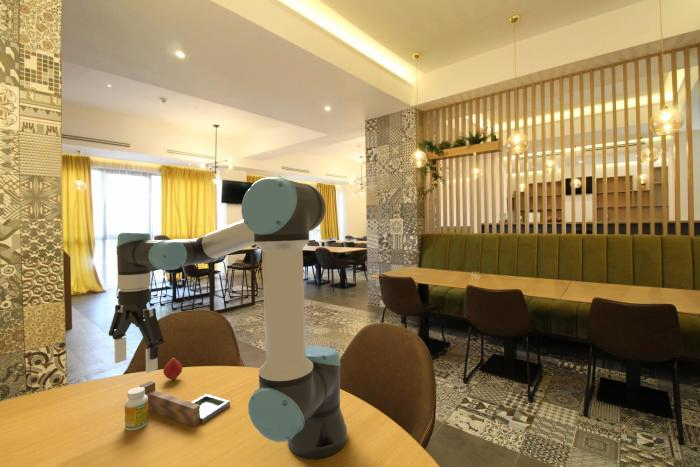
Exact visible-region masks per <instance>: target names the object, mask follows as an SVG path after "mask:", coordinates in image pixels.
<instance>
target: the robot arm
mask: <svg viewBox="0 0 700 467" xmlns="http://www.w3.org/2000/svg"><path fill="white" fill-rule="evenodd" d="M326 207H327V206H326V201H325V199H324V196H323V195H322V194H321V192H320V191H319V190H318V189H317V188H315V187H314V186H312V185H310V184H307V183H301V182H298V181H293V180H290V179H287V178H285V177H273V176H271V177H270V176H269V177H268V176H267V177H263V178H260V179H258V180H257V181H255V182H254V183H252V184H251V186H250V188H249V189H247V190H246V191H245V194H244V196H243V199H242V202H241V217H242V220H240V221H236V222H234V223H232V224H229V225H226V226H225V227H222V228H220V229H219V228H218V229H217V230H214V231H212V232H209V233H207V234H205V235H201V236H199V237H196V238H184V239H160V240H159V239H151V234H150V233H149V232H147V231H146V232H145V231H142V232H141V231H140V232H137V231H135V232H131V231H130V232H128V231H127V232H126V231H125V232H120V233H119V234H118V235H117V242H116V243H117V244H116V256H117V258H116V260H117V261H116V262H117V263H116V264H117V265H116V266H117V289H118V290H119V291H118V292H117V304H115V306H114V314H113V317H112V321H111V324H110V328H109V331H108V336H109V337H112V339H113V340H114V364H118V363H122V362H124V361H127V334H126V332H128V330H129V327H130V326H131V324H132V325H135V327H136V328H138V329H139V331H140V333H141V335H142V337H143V339H144V341H145V343H146V345H147V346H146V347H145V373H147V374H149V373H150V372H154V371H156V370H158V369H159V368H158V367H159V366H158V362H159V361H158V360H159V346H161V345H163V344H165V339H164V337H163V333H162V330H161V328H160V323H159V321H158V318H157V317H158V316H157V312H156V311H157V310H156V308H155V307H151V308H148V303H150V302H151V301H152V289H151V288H150V287H151V283H152V282H151V276H152V275H151V270H152V269H153V270H162V271H168V270H169V271H170V270H177V269H179V268H181V267H187V266H191V265H201V264H204V265H205V264H209V263H213V262H216V261H218V260H219V259H220V257H224V256H226V255H229V254H232V253H235V252H238V251H241V250H243V249H247V248H249V247H252V246H254V245H256V246H257V247H258V248H259V249H260V250H261V258H262V259H261V260H262V262H261V266H262V288H263V291H262V292H263V314H264V315H263V318H264V320H263V321H264V343H265V348H264V349H265V361H264V362H263V364H262V365H261V366H260V367H259V369H258V389H256V390H255V391H254V392H253V393H252V395H251V396H250V398H249V401H248V407H247V408H248V409H247V410H248V415H249V418H250V420H251V423H252V425H253V427H254V428H255V429H256V430H257V431H258V432H259V434H260V435H262V436H263V437H264V438H265V439H267V440H270V441H272V442H278V443H283V442H287V446H288V448H289V450H291V452H292V453H294V454H295V455H297V456H299V457H302V458H305V459H314V460H315V459H324V458H327V457H331V456H333V455H335V454H337V453H339V452H340V451H341V450H342V449H343V448H344V447H345V445H346V443H347V439H348V428H347V424H346V422H345V418H344V415H343V412H342V409H341V360H340V356H341V355H340V353H339V352H338V351H337V350H336V349H334V348H332V347H328V346H324V345H323V346H322V345H321V346H320V345H309V346H306V345H307V344H306V318H305V317H306V316H305V291H304V290H305V288H304V287H305V282H304V255H303V249H304V247H305V246H306V245H307V244H308V243H309V242H310V231H313V230H315V229H316V228H318V227H319V226H320V225H321V223H322V222H323V221H324V218H325V217H326V213H327V212H326V210H327V209H326Z"/></svg>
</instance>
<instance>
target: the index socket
mask: <svg viewBox="0 0 700 467" xmlns="http://www.w3.org/2000/svg"><path fill="white" fill-rule="evenodd" d="M191 402H192V403H195V404H198V405H200V423H199V424H203V425H204V424H205V423H206V422H207V421H209V420H211V419H212V418H214V417H215V416H217V415H218V414H221V412H223V411H224V410H226V409H227V408H229V407H230V406H231V401H230V400H228V399H225V398H221V397H218V396H215V395H212V394H208V393H205V394H204V395H201V396H200V397H198V398H196V399H195V400H193V401H191Z"/></svg>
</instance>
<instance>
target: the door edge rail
mask: <svg viewBox="0 0 700 467" xmlns="http://www.w3.org/2000/svg"><path fill="white" fill-rule="evenodd" d="M139 387H144V388H145V395H147V396H148V412H149V411H150V412H152V413H155V414H158V415H160V416H162V417H166V418H169V419H171V420H175V421H177V422H180V423H182V424H186V425H188V426H190V427H193V428H195V427H196V426H198V425H200V424H201V423H200V405H198V404H195V403H192V402H193V401H188V400H186V399H182V398H179V397H176V396H172V395H170V394H166V393H164V392H160V391H157V390H156V382H154V381H151V380H149V381H147V382H145V383H143V384H140V385H139Z"/></svg>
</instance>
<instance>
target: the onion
mask: <svg viewBox="0 0 700 467" xmlns="http://www.w3.org/2000/svg"><path fill="white" fill-rule="evenodd" d="M182 372H183V365H182V364H181V362H180V361H179V360H177V359H176V358H175V357H172V358H171V359H170V360H169V361H168V362H167V363H166V364H165V366H164V367H163V375H164V376H165V378H166V379H168V380H171V381H175V380H176V379H177V378H179V376H180V375H181V374H182Z"/></svg>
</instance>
